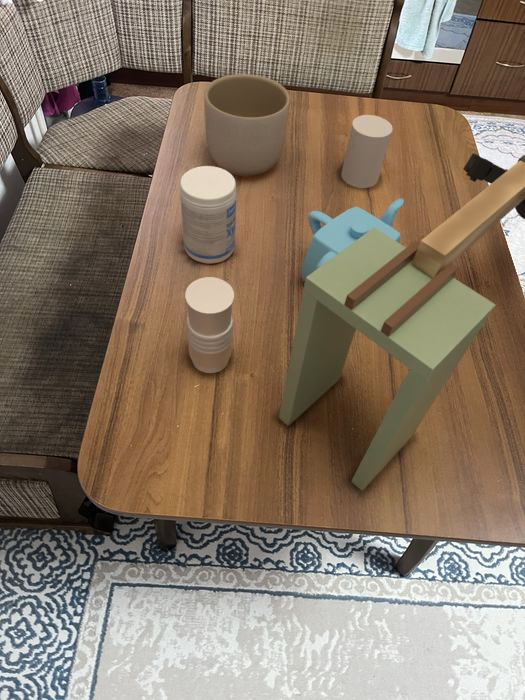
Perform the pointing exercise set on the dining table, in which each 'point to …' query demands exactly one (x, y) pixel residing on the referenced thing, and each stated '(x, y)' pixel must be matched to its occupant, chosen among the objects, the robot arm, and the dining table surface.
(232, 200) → the supplement tub
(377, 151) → the white cylinder
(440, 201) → the dining table surface
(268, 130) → the planter
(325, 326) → the shelf stand
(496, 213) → the slide bar
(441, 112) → the dining table surface
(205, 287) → the candle
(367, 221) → the teapot
